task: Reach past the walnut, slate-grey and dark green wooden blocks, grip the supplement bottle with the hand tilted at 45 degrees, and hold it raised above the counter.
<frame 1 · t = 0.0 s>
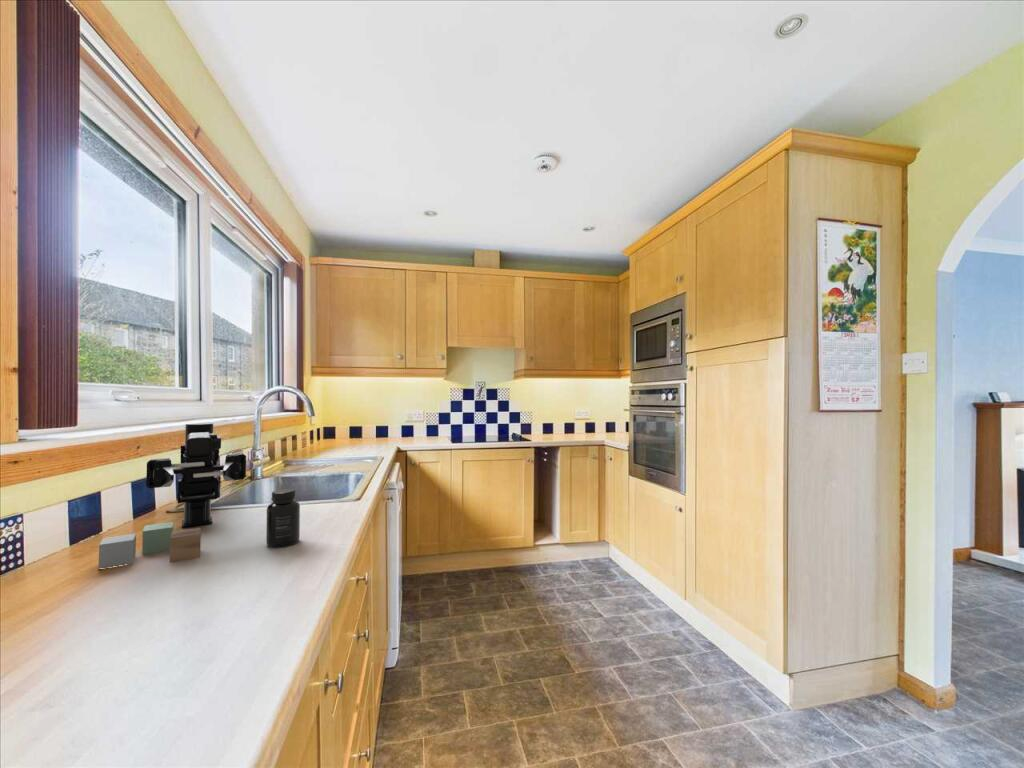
hand: (199, 475, 94), 17 cm above the table, tool horizontal, fingers open, 9 cm apart
supplement bottle: (282, 543, 99), on the table
slate grey block: (117, 563, 87), on the table
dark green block: (158, 549, 95), on the table
walnut block: (185, 556, 91), on the table
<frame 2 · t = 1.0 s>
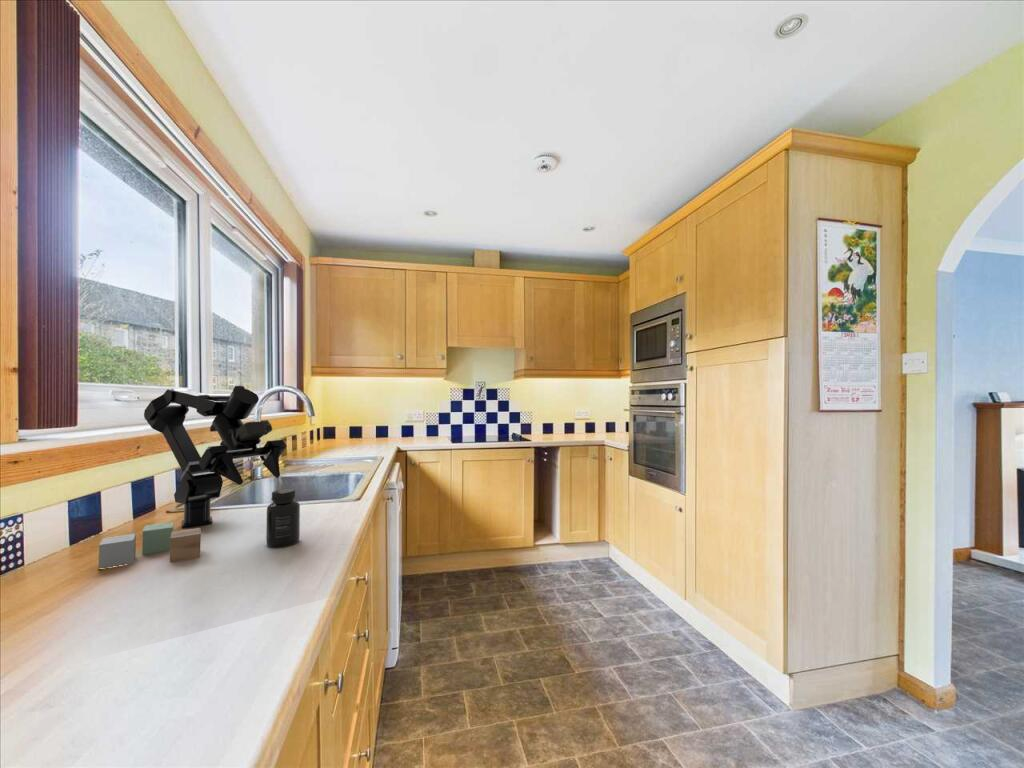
hand: (260, 480, 103), 14 cm above the table, tool tilted 45°, fingers open, 9 cm apart
nothing on the table moved.
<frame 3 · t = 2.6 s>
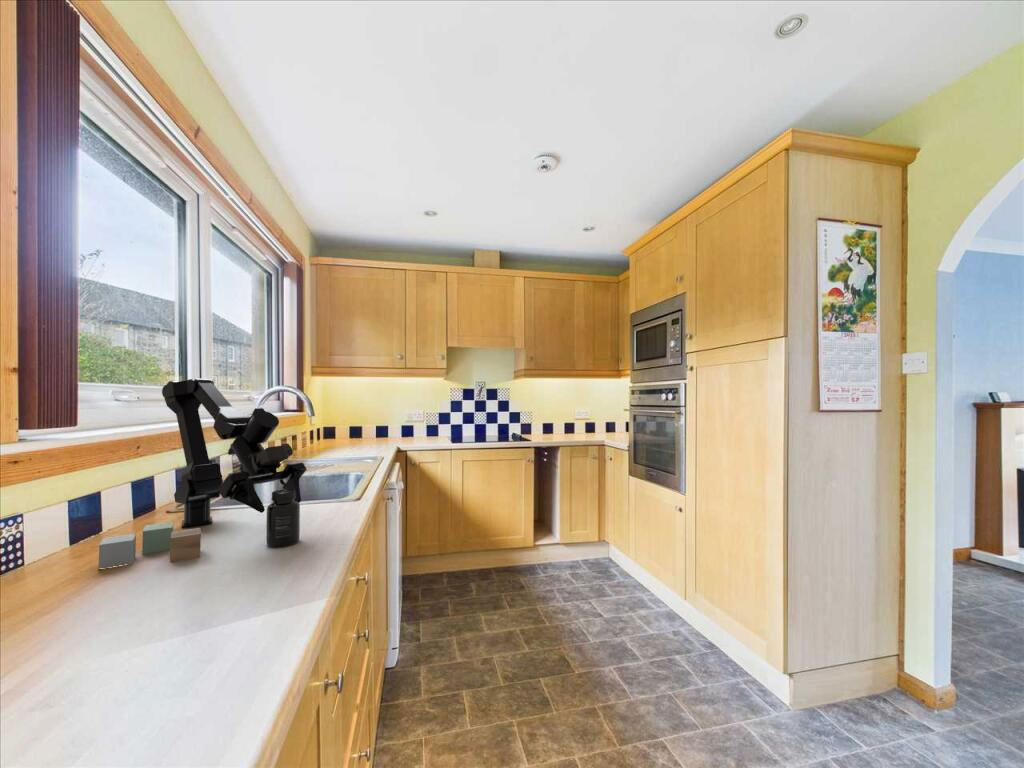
hand: (282, 506, 100), 8 cm above the table, tool tilted 45°, fingers open, 9 cm apart
nothing on the table moved.
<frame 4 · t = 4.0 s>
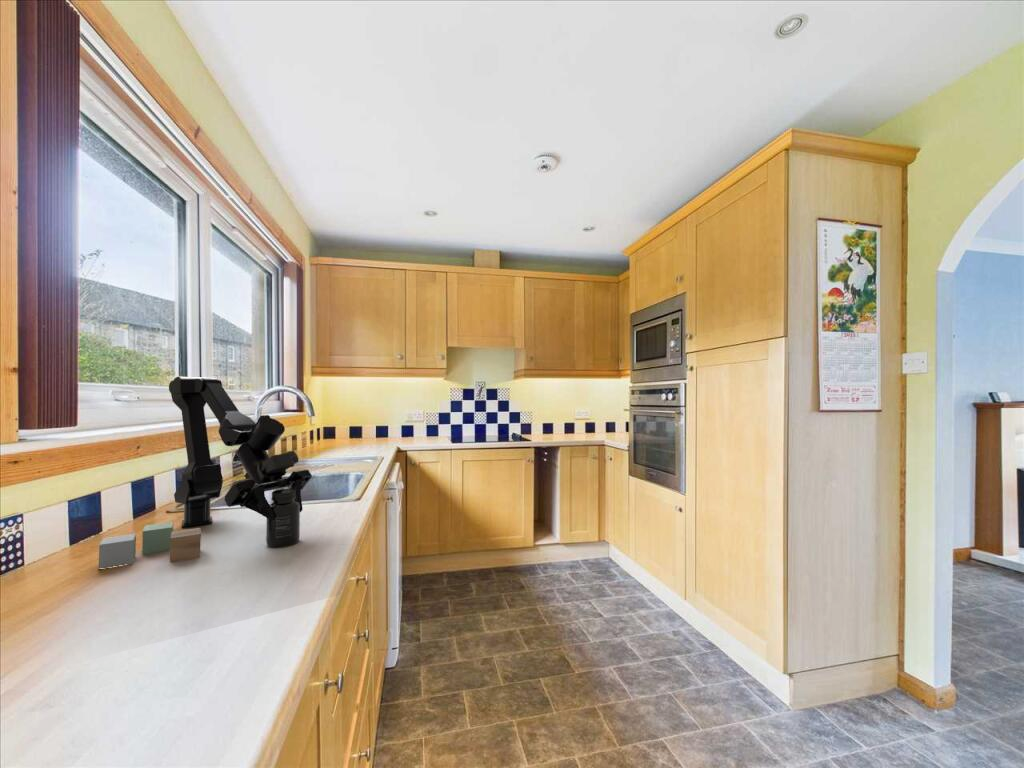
hand: (287, 515, 99), 7 cm above the table, tool tilted 45°, fingers closed on supplement bottle, 7 cm apart
supplement bottle: (282, 543, 99), on the table, touching gripper
everything else where it was.
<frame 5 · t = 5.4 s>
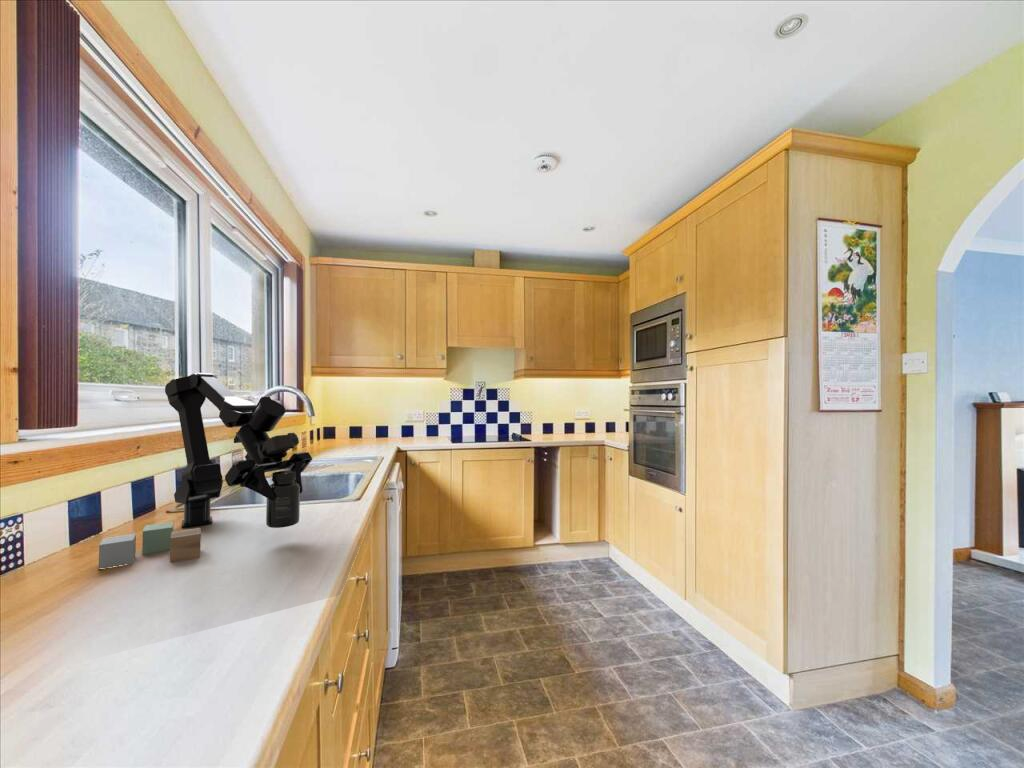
hand: (287, 495, 99), 11 cm above the table, tool tilted 45°, fingers closed on supplement bottle, 7 cm apart
supplement bottle: (282, 525, 99), point 4 cm above the table, touching gripper
everything else where it was.
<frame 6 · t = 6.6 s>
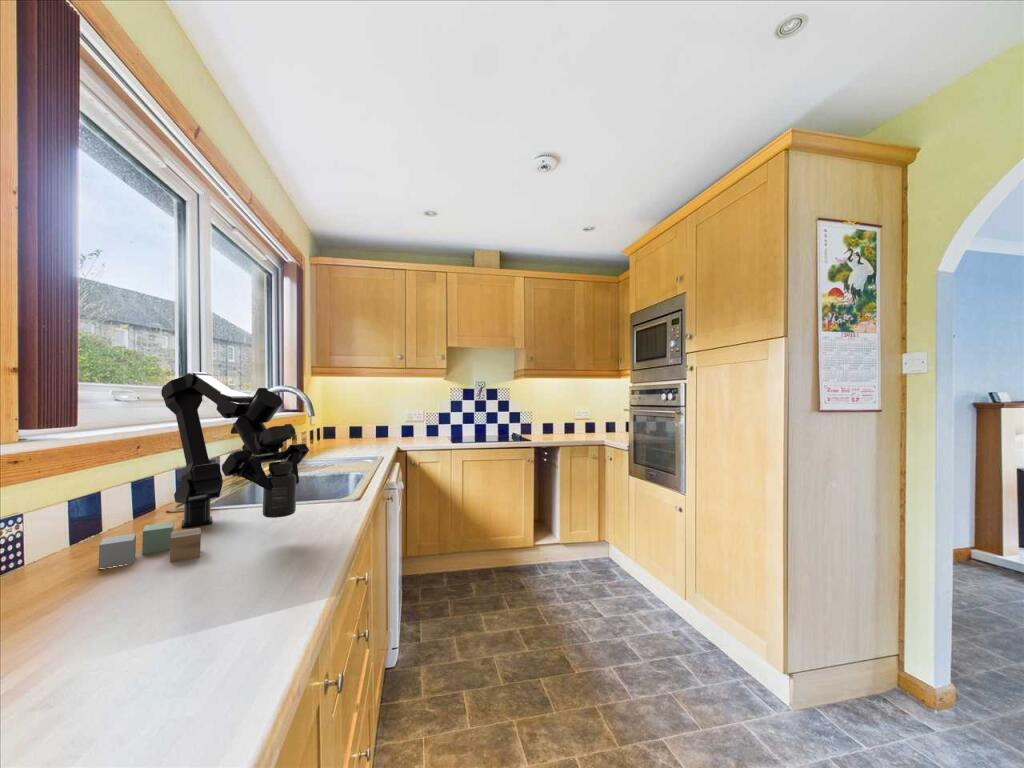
hand: (284, 486, 100), 13 cm above the table, tool tilted 45°, fingers closed on supplement bottle, 7 cm apart
supplement bottle: (279, 515, 100), point 6 cm above the table, touching gripper
everything else where it was.
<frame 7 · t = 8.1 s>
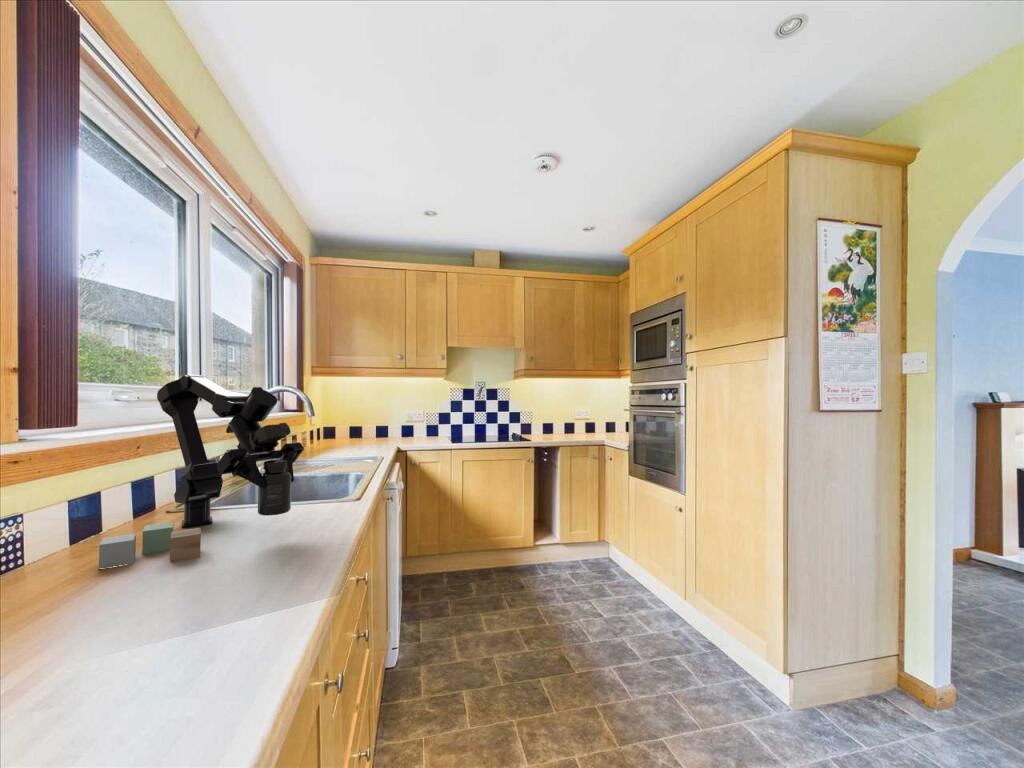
hand: (279, 484, 100), 13 cm above the table, tool tilted 45°, fingers closed on supplement bottle, 7 cm apart
supplement bottle: (274, 513, 101), point 6 cm above the table, touching gripper
everything else where it was.
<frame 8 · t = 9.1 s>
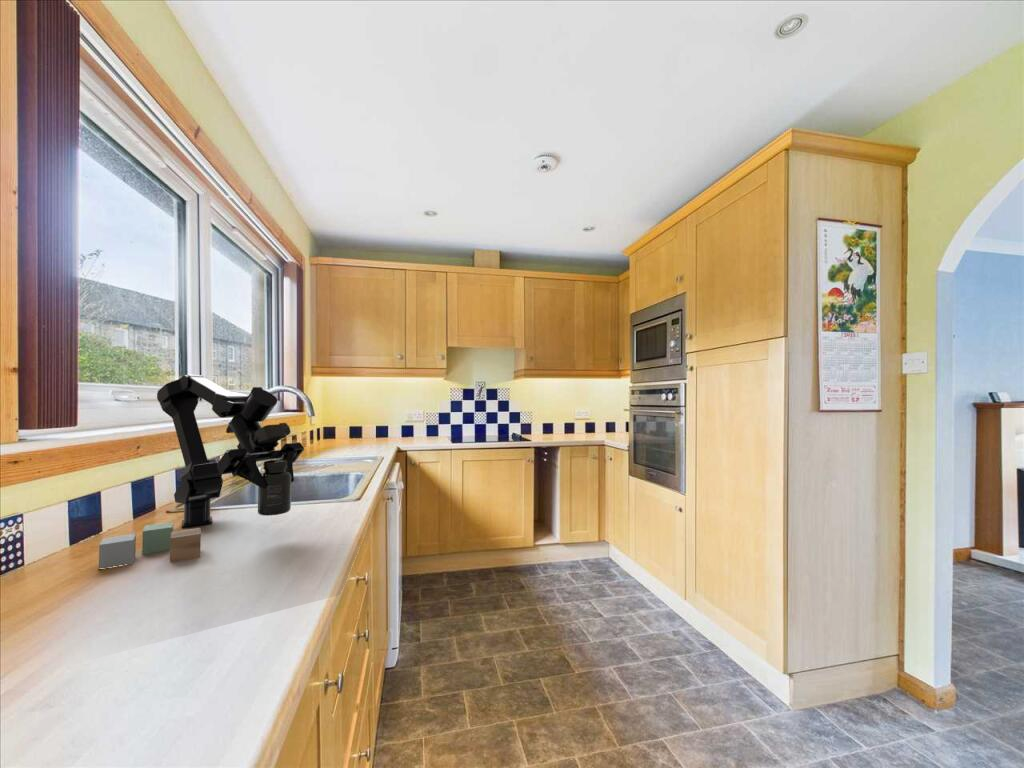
hand: (279, 484, 100), 13 cm above the table, tool tilted 45°, fingers closed on supplement bottle, 7 cm apart
supplement bottle: (274, 513, 101), point 6 cm above the table, touching gripper
everything else where it was.
at the end: the gripper is holding supplement bottle; supplement bottle point 6.5 cm above the table; walnut block moved 0.1 cm from its start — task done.
